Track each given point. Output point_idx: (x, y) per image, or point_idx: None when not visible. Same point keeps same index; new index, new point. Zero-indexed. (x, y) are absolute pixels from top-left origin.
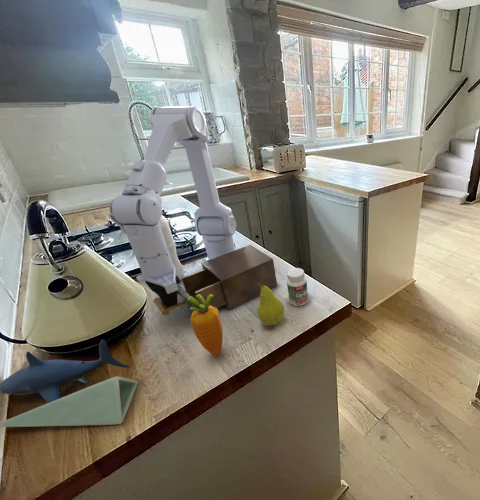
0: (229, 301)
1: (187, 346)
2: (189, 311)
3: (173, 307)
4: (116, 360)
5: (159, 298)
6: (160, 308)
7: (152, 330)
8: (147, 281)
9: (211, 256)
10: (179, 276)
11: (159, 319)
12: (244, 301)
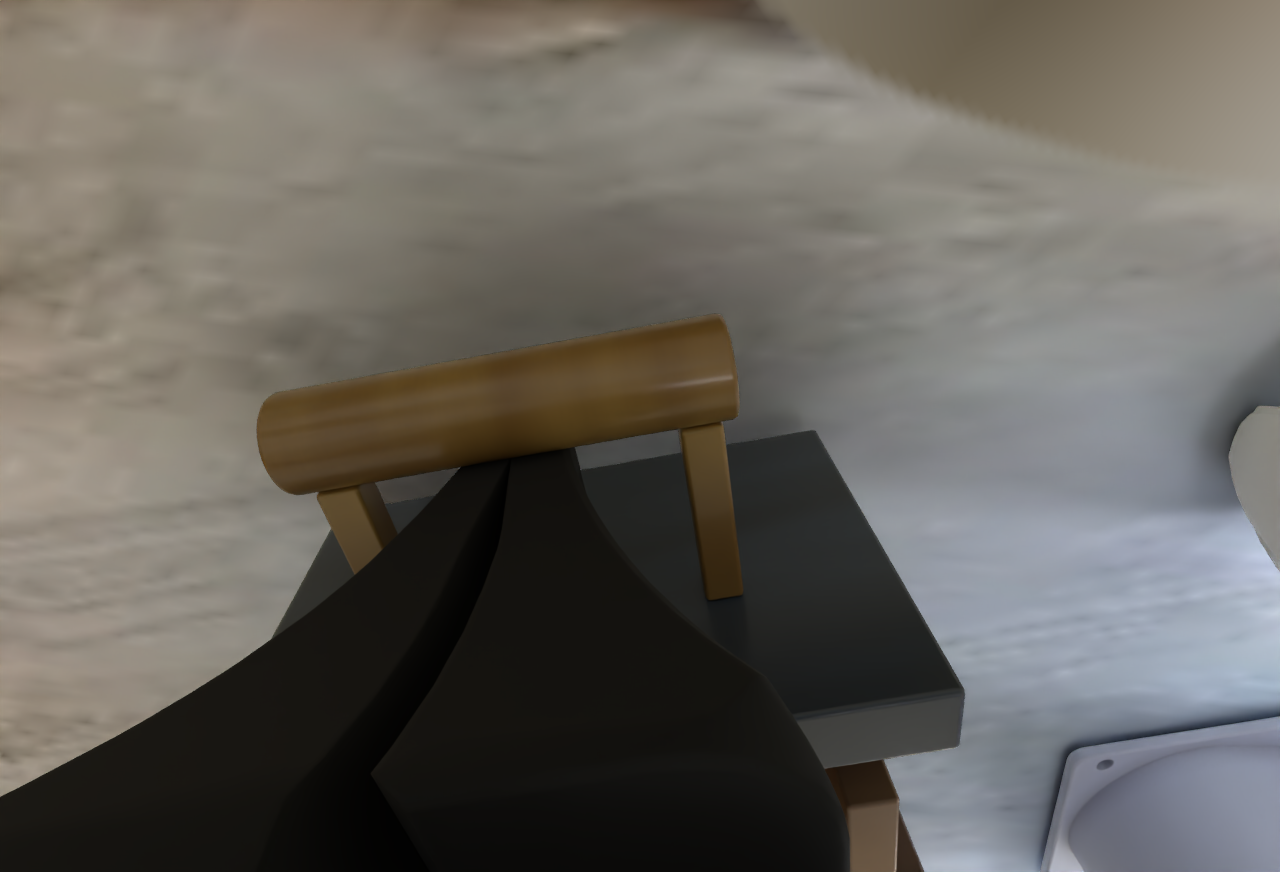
0: None
1: (54, 394)
2: (281, 624)
3: (341, 546)
4: None
5: (699, 423)
6: (367, 412)
7: (511, 106)
8: (631, 822)
9: (1276, 845)
10: (1272, 548)
11: (688, 207)
12: None
